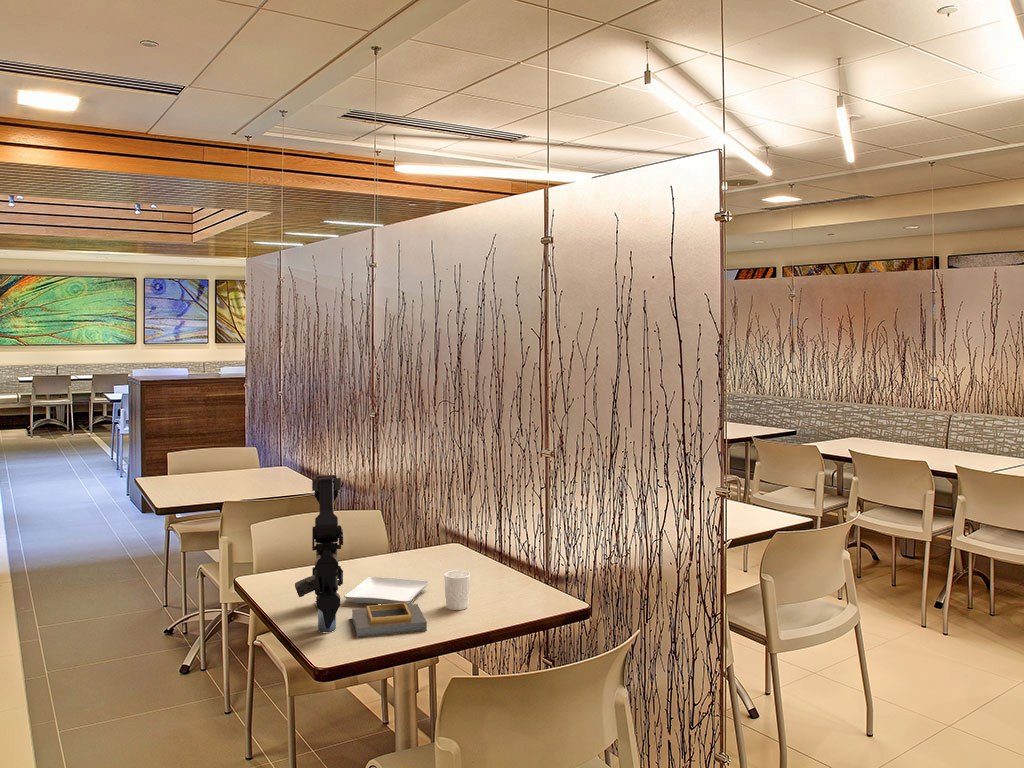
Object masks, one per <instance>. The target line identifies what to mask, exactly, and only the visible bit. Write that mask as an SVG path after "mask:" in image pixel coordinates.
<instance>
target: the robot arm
mask: <svg viewBox="0 0 1024 768" xmlns="http://www.w3.org/2000/svg"><path fill="white" fill-rule="evenodd" d="M315 477H316V478H312V479H311V488H312V489H311V491H313V492H314V498H315V499H316V501H317V502H318V505H319V510H318V511H319V512H318V513H319V514H318V515H317V516H316V517H315V519H314V526H312V535H311V536H312V541H311V542H312V545H311V546H312V547H311V548H312V551H315V560H314V566H313V567H312V573H311V574H312V575H310V576H308V577H305V578H303V579H300V580H298V581H296V582H295V583H294V588H295V591H296V593H297V596H298V598H302V597H304V596H305V595H308V594H310V593H312V592H314V594H315V602H316V603H315V608H316V609H317V610H318V609H319V610H321V611H322V613H323V617H324V622H325V627H326V629H329V628H330V627H331V624H332V622H333V620H334V617H335V615H336V616H337V612H338V610H339V608H340V607H341V595H340V594H339V593H338V591H339V587H341V585H343V583H344V570H343V568H341V567H342V566H341V565H339V559H338V550H342V546H343V545H344V530H343V529H344V528H342V526H341V524H340V525H339V518H338V516H337V515H336V514H335V509H334V505H335V504H334V503H335V502H336V500H337V497H339V491H340V490H341V478H339V477H338V478H337V474H326V475H325V474H320V475H318V474H317V475H316V476H315ZM315 543H316V544H315Z"/></svg>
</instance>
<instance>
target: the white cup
mask: <svg viewBox="0 0 1024 768" xmlns="http://www.w3.org/2000/svg"><path fill="white" fill-rule="evenodd" d="M443 575H444V576H443V577H444V578H443V579H444V596H445V607H446V609H448V610H453V611H462V610H466V609H468V607H469V598H470V589H471V588H470V587H471V585H470V584H471V583H470V582H471V573H470V572H469V571H465V570H450V571H447V572H444V574H443Z"/></svg>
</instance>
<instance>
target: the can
mask: <svg viewBox="0 0 1024 768" xmlns="http://www.w3.org/2000/svg"><path fill="white" fill-rule="evenodd" d="M336 616H337V614H336V615H335V617H334V620H333V622H332V624H331V627H330V628H329V629H326V627H325V622H324V617H323V613H322V611H321V610H319V609H317V631H320V632H331V633H333V632H332V631H334V630H335V629H336V628H337V627H336V626H337V617H336ZM336 630H337V629H336ZM336 630H335V631H336ZM335 631H334V632H335ZM320 632H319V633H320Z"/></svg>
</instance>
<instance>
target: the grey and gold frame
mask: <svg viewBox="0 0 1024 768" xmlns="http://www.w3.org/2000/svg"><path fill="white" fill-rule="evenodd" d="M351 615H352V616H351V619H352V624H353V626H354V627H355V628H354V631H355V635H356V638H365V637H375V636H385V635H386V636H387V635H396V634H398V635H399V634H406V633H409V634H410V633H418V632H419V633H420V632H427V631H428V630H427V624H428V623H427V622H428V621H427V620H426V618H425V616H424V614H423V612H422V610H421V608H420V606H419V605H418V603H414V604H408V605H406V603H395V604H383V605H374V604H370V605H366V608H365V607H364V608H356V609H354V608H353V609H351Z"/></svg>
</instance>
